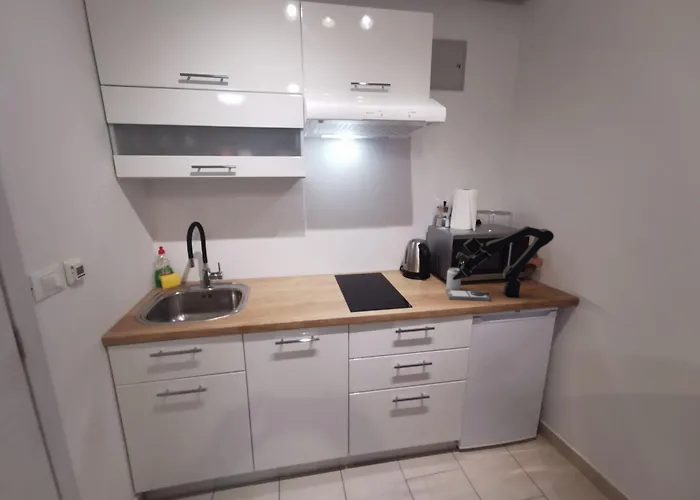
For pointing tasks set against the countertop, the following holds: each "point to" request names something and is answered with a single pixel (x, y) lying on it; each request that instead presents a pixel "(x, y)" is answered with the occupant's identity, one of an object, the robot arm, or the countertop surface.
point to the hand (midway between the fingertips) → (453, 276)
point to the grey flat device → (467, 295)
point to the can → (453, 283)
